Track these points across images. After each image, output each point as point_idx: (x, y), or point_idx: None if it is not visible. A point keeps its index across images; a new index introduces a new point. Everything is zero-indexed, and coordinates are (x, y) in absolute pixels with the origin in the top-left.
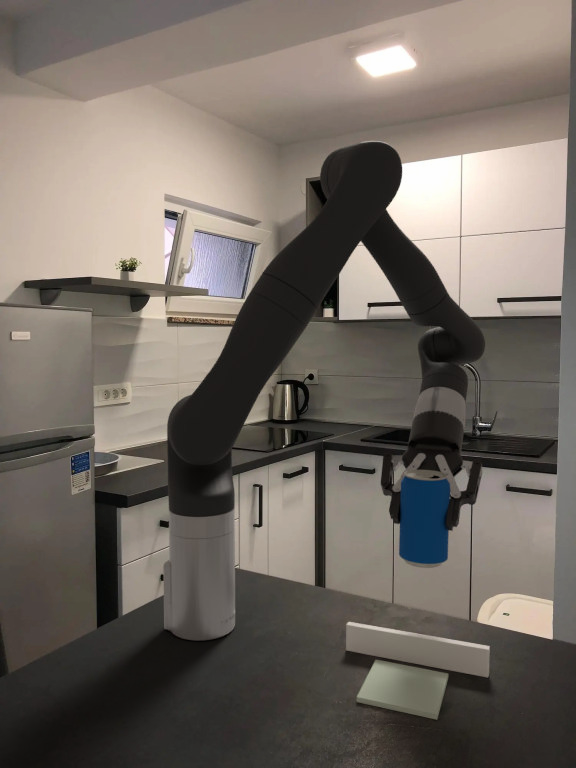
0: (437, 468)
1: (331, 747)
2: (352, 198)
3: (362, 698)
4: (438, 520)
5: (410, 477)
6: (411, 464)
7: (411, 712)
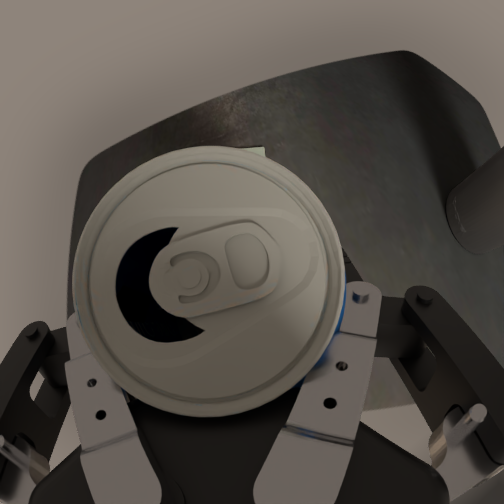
0: (161, 450)
1: (256, 95)
2: None
3: (257, 147)
4: (161, 242)
5: (267, 161)
6: (353, 414)
7: None
